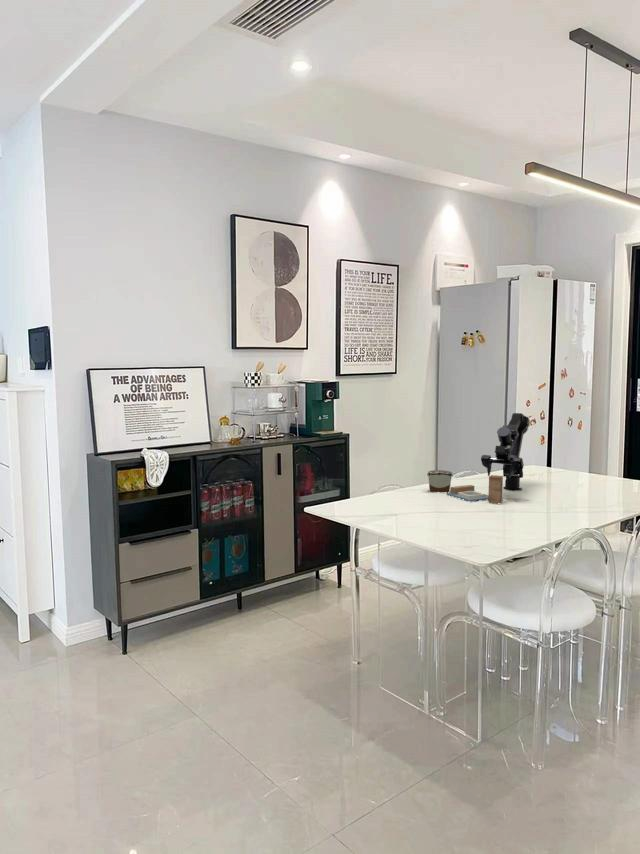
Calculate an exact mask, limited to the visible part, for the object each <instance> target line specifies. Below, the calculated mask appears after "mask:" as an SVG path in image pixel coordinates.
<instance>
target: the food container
mask: <svg viewBox="0 0 640 854" xmlns="http://www.w3.org/2000/svg"><path fill="white" fill-rule="evenodd" d="M427 477H428V488H429V493H437V492H450V487H451V482H452V477H453V472H452V471H450V470H445V469H444V470H442V469H439V470H438V469H435V470H434V469H433V470H428V472H427Z"/></svg>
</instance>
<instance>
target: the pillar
mask: <svg viewBox="0 0 640 854" xmlns="http://www.w3.org/2000/svg"><path fill="white" fill-rule="evenodd" d="M503 481H504V477H503V475H497V474H490V475H489V476H488V493H487V495H488V500H487V503H488V502H489V503H488V504H494V503H500V504H502V502H503V489H504V488H503V487H504V486H503V485H504V482H503Z"/></svg>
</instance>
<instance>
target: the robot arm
mask: <svg viewBox="0 0 640 854" xmlns="http://www.w3.org/2000/svg"><path fill="white" fill-rule="evenodd" d="M530 426H531V420H530V418H529V417H528V416H526V415H524V413H519V412H514V413H512V415H511V419H510V420H509V421H508V425H502V427H499V428H497V431H496V434H497V437H498V442H499V443H500V444H499V445H495V450H494V454H495V455H494V456H495V457H494V458H492V457H491V455H490V454H489V455H488V454H482V455H481V458H480V461H481V464H482V466H483V467H485V468H486V472H487V476H488V477H489V476H491V471H492V464H500V465H503V466H502V473H503V475H502V476H503V478H505V483H504V485H505V486H503V489H505V490H509V491H518V490H523V488H522V487H520V482H521V479H522V478H524V471H523V469H524V460H523V458H522V457H520V455H521V454H520V453H521V449H522V443H523V439H524V435H525V434H526V433H527V432H528V430H529V427H530Z"/></svg>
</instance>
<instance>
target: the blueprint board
mask: <svg viewBox="0 0 640 854" xmlns="http://www.w3.org/2000/svg"><path fill="white" fill-rule="evenodd" d="M446 495H447V496H449V495H450V496H449V497H452V496H454V497H453V498H455V497H457V498H456V499H458V498H460V499H459V500H462V499H464V500H463V501H465V500H467V501H466V502H468V501H474V502H478V501H477V500H482V501H487V500H486V499H488V494H485V493H482V492H478V491H475V485H473V484H472V485H471V484H466V485H457V486H450V491H449V493H446Z"/></svg>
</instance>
